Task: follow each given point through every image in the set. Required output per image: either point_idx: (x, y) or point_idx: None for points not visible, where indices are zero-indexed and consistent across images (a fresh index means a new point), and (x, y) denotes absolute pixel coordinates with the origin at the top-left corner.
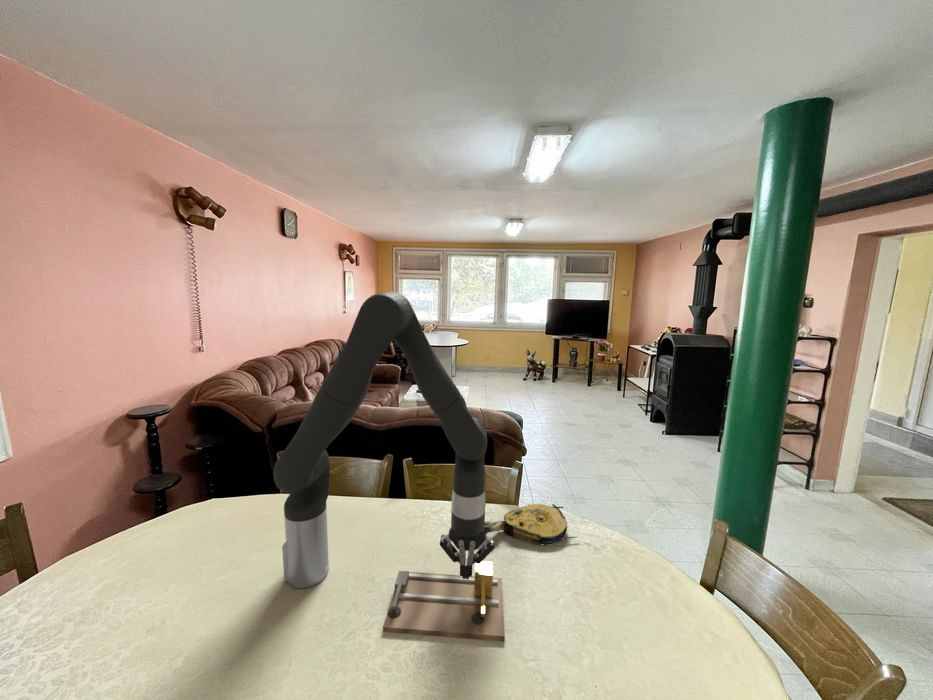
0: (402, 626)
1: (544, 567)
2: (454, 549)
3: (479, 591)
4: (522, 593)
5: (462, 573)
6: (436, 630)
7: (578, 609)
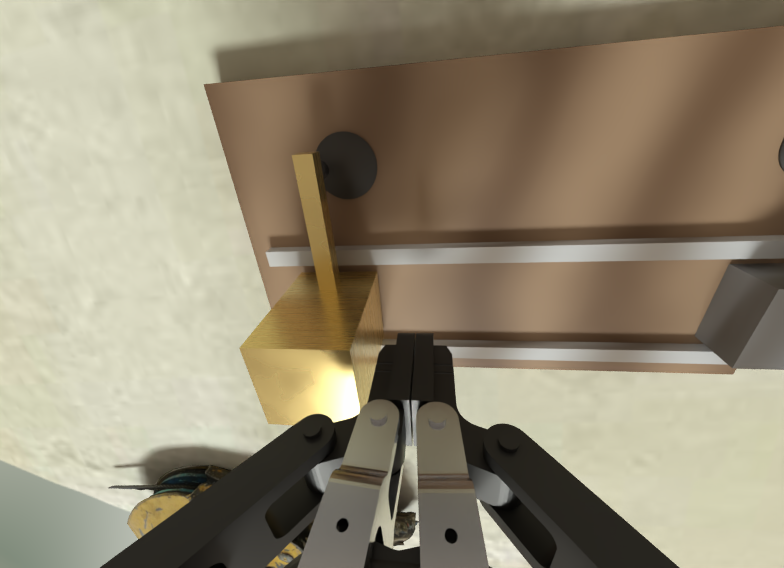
0: None
1: (177, 403)
2: (519, 531)
3: (347, 287)
4: (214, 314)
5: (435, 357)
6: (563, 50)
7: (25, 271)
